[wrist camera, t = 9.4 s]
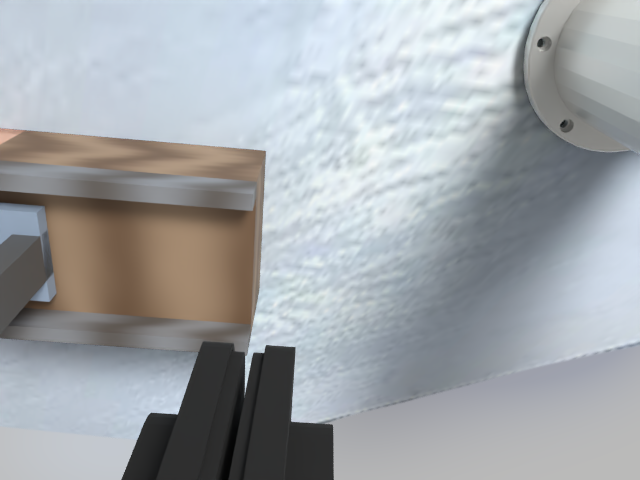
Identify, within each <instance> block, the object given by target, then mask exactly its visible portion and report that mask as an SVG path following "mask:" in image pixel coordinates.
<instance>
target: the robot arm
mask: <svg viewBox="0 0 640 480" xmlns="http://www.w3.org/2000/svg"><path fill="white" fill-rule="evenodd" d="M541 38H542V40H543V43H542V45H541V46H539V47H538V46H537V43H538V41H539V39H541ZM523 69H524V81H525V87H526V91H527V94H528V97H529V101H530V103H531V105H532V107H533V109H534V110H535V112H536V114H537V116H538V117H539V119H540V120H541V121H542V122H543V123H544V124H545V125H546V126H547V127H548V129H549V130H551V131H552V132H553V133H555V134H556V135H557V136H558V137H560V138H561V139H563V140H565V141H567V142H569V143H571V144H572V145H574V146H577V147H580V148H583V149H587V150H590V151H598V152H609V153H610V152H620V151H629V150H632V151H634V152H635V153H637V154H639V155H640V0H544V1H543V3H542V4H541V6H540V8H539V10H538V12H537V14H536V16H535V18H534V21H533V23H532V25H531V28H530V31H529V35H528V38H527V42H526V45H525V54H524V64H523ZM564 120H565V123H564V125H562V126H560V124H561V123H562V121H564ZM294 364H295V347H284V346H269V345H266V348H265V353H253V357H252V362H251V367H250V372H249V377H248V383H247V388H246V393H245V352H238V351H235V347H234V343H224V342H210V341H204V342H202V345H201V347H200V350H199V353H198V356H197V359H196V362H195V365H194V368H193V371H192V374H191V377H190V380H189V383H188V386H187V389H186V392H185V395H184V398H183V401H182V404H181V407H180V410H179V413H178V415H176V414H161V413H150V414H149V416H148V417H147V419H146V421H145V423H144V425H143V428H142V430H141V433H140V435H139V438H138V440H137V442H136V445H135V448H134V450H133V452H132V455H131V458H130V460H129V462H128V465H127V467H126V470H125V472H124V475H123V477H122V480H334V479H333V478H334V476H333V425H330V424H315V423H299V422H291V411H292V395H293V380H294ZM244 393H245V398H244Z"/></svg>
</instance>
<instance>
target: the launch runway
mask: <svg viewBox="0 0 640 480" xmlns="http://www.w3.org/2000/svg"><path fill="white" fill-rule="evenodd" d="M265 157H266V151H260V150H249V149H237V148H225V147H213V146H202V145H190V144H178V143H166V142H155V141H143V140H131V139H119V138H108V137H96V136H84V135H73V134H61V133H49V132H37V131H26V130H25V131H24V132H22V133H20V134H18V135H16V136H15V137H13V138H11V139H9V140H7V141H6V142H4V143H2V144H0V203H13V204H25V205H38V206H45V213H46V221H47V228H48V235H49V242H50V250H51V257H52V264H53V272H54V279H55V286H56V295H55V296H54V297H53V298H52V300H51V301H50V302H45V301H32V300H30V301H29V302H28V303H27V304H26V305H25V306H24V308H23V309H22V310H21V311H20V312H19V313H18V314H17V316H16V317H15V318H14V319H13V320H12V321H11V323H10V324H9V325H8V326H7V327H6V328H5V329H4V331H3V332H2V333H1V334H0V338H5V339H19V340H33V341H48V342H62V343H76V344H90V345H104V346H118V347H132V348H146V349H160V350H175V351H189V352H199V350H200V347H201V345H202V342H204V341H210V342H224V343H234V347H235V351H238V352H245V356H247V353H248V347H249V342H250V336H251V331H252V326H253V320H254V315H255V310H256V304H257V299H258V294H259V283H260V262H261V241H262V220H263V199H264V178H265Z"/></svg>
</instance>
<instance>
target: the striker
mask: <svg viewBox="0 0 640 480" xmlns="http://www.w3.org/2000/svg"><path fill="white" fill-rule="evenodd" d="M55 295H56V286H55V279H54V272H53V264H52V257H51V250H50V242H49V235H48V228H47V221H46V213H45V206H38V205H25V204H13V203H0V334H1V333H2V332H3V331H4V329H5V328H6V327H7V326H8V325H9V324H10V323H11V321H12V320H13V319H14V318H15V317H16V316H17V314H18V313H19V312H20V311H21V310H22V309H23V308H24V306H25V305H26V304H27V303H28V302H29V301H30V300H32V301H45V302H50V301H51V300H52V298H53V297H54V296H55Z"/></svg>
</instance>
